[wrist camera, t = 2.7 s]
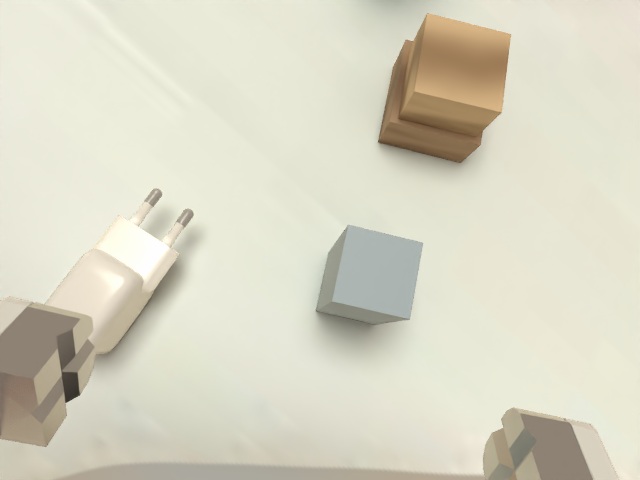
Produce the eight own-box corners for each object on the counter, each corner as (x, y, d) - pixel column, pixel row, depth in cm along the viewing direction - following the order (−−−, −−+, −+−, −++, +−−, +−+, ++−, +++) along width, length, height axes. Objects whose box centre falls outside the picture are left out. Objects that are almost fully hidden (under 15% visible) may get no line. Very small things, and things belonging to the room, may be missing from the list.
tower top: (475, 137, 35) (501, 112, 32) (398, 118, 35) (414, 91, 31) (485, 66, 37) (510, 34, 33) (410, 48, 36) (427, 13, 32)
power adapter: (156, 195, 36) (135, 167, 30) (211, 230, 36) (200, 209, 30) (59, 323, 33) (15, 319, 27) (117, 361, 33) (86, 365, 27)
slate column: (374, 324, 35) (409, 319, 27) (315, 310, 35) (332, 301, 26) (385, 266, 36) (423, 242, 28) (328, 252, 36) (348, 224, 27)
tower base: (459, 164, 39) (480, 144, 35) (377, 143, 39) (389, 121, 35) (471, 89, 41) (492, 62, 37) (392, 68, 40) (406, 39, 36)
